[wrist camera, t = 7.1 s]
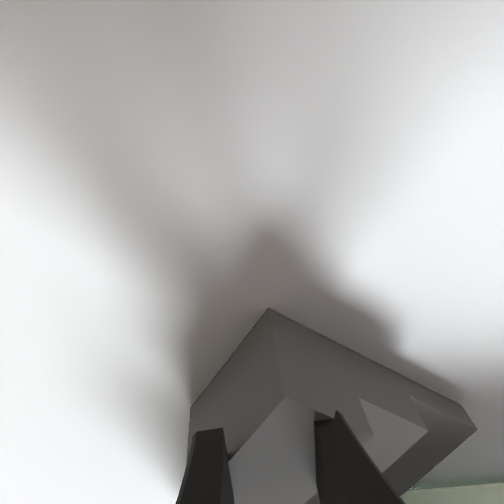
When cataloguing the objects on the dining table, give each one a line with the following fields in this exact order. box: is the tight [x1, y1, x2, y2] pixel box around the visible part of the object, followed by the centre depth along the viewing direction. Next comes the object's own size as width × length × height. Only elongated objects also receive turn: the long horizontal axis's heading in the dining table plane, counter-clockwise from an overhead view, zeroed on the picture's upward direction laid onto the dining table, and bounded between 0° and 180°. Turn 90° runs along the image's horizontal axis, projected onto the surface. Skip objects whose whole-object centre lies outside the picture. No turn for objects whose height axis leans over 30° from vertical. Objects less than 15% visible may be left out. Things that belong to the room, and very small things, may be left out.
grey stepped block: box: [186, 308, 477, 504], centre depth 13 cm, size 8×4×4 cm, turn 57°
